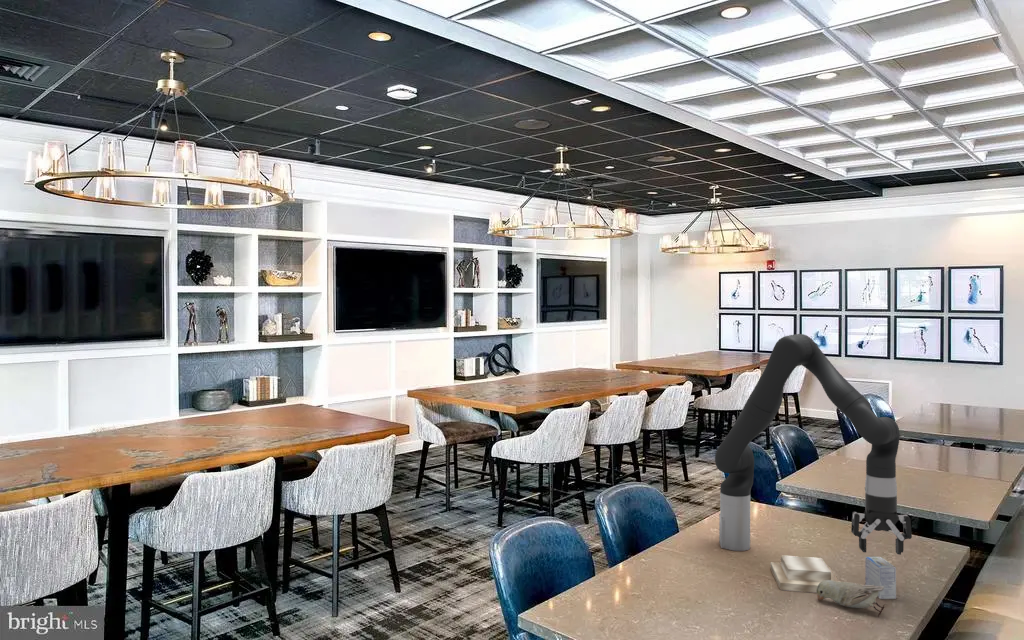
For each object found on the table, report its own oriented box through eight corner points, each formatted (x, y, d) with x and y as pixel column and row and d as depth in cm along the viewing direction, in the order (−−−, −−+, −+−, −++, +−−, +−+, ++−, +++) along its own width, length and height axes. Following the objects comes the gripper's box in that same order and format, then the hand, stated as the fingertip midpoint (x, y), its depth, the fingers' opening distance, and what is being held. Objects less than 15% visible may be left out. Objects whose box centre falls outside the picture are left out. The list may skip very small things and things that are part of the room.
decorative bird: (819, 597, 185) (819, 568, 185) (887, 613, 175) (887, 583, 175) (813, 603, 181) (814, 574, 181) (882, 620, 171) (883, 590, 171)
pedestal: (780, 590, 189) (780, 571, 189) (770, 568, 205) (770, 551, 205) (843, 594, 186) (843, 576, 186) (828, 572, 202) (828, 555, 202)
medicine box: (896, 599, 183) (896, 566, 183) (879, 599, 183) (879, 566, 183) (881, 587, 191) (881, 556, 191) (864, 587, 191) (865, 556, 191)
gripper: (856, 494, 185) (856, 555, 185) (915, 497, 182) (915, 559, 182) (848, 487, 192) (848, 546, 192) (905, 490, 189) (905, 549, 189)
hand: (881, 552), depth 187 cm, fingers open, 8 cm apart
